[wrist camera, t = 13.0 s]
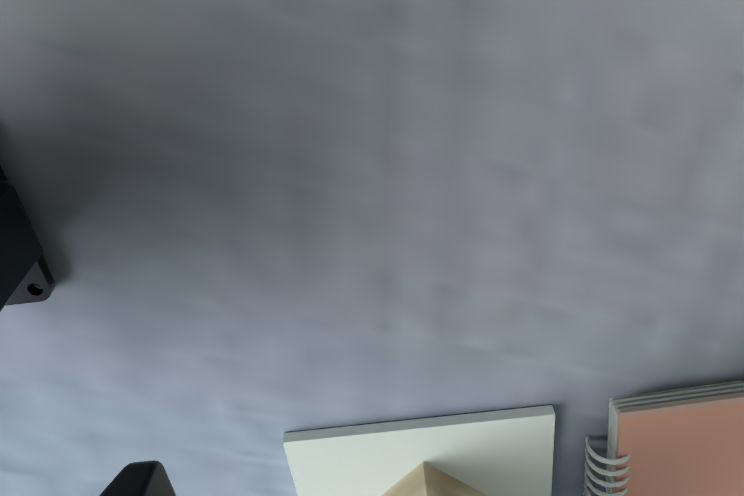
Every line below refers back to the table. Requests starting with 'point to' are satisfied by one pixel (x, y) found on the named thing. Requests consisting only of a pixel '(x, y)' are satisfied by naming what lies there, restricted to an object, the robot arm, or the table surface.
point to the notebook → (673, 443)
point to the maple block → (430, 484)
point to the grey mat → (428, 453)
